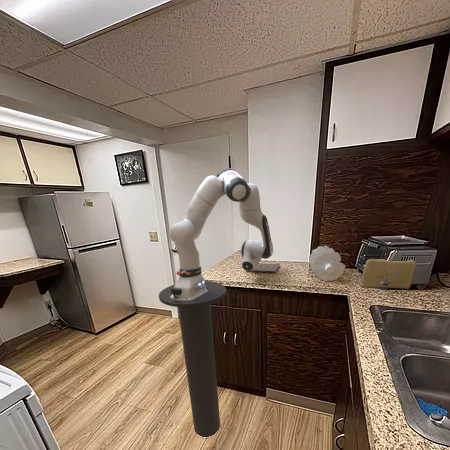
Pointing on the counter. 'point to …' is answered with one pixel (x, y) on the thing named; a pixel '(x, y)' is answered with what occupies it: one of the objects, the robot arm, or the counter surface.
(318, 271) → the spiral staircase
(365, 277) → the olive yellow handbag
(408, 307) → the counter surface
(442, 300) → the counter surface
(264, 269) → the board
